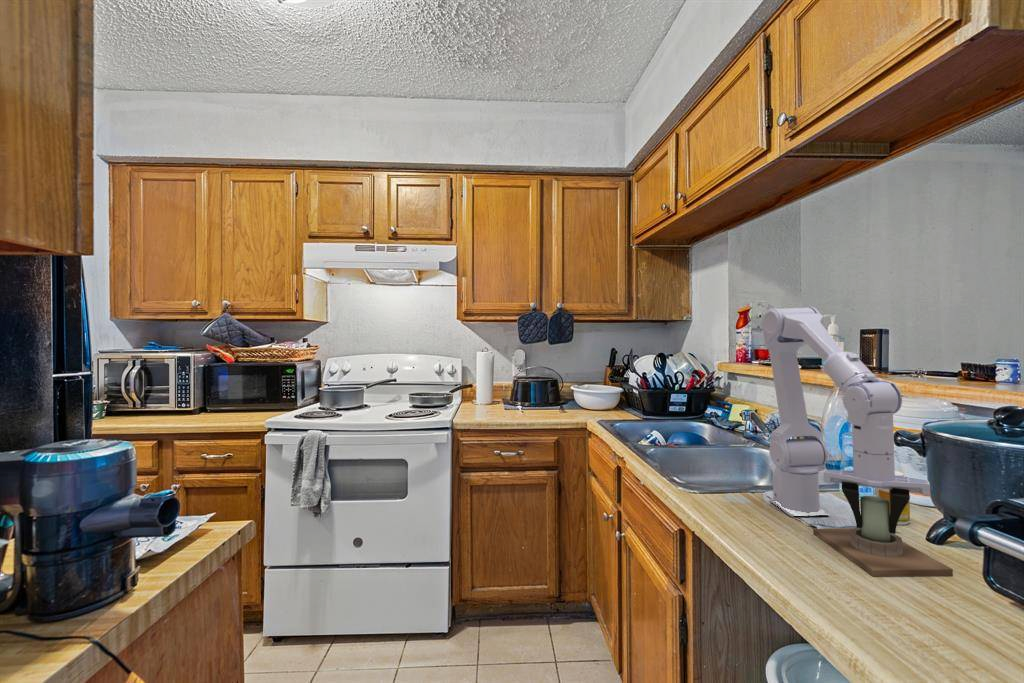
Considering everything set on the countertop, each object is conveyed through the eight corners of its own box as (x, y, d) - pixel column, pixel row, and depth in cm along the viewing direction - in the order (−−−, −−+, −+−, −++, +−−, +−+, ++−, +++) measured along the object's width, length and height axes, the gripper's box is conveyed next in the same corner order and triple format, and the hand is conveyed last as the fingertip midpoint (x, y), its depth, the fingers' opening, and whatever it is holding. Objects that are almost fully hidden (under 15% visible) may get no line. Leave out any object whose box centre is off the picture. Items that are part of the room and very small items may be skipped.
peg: (856, 535, 84) (854, 496, 83) (879, 534, 83) (878, 495, 83) (872, 545, 80) (870, 504, 80) (896, 544, 79) (895, 503, 79)
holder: (813, 533, 90) (813, 518, 90) (878, 532, 89) (877, 517, 89) (873, 576, 74) (872, 557, 74) (952, 575, 73) (952, 556, 73)
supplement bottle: (916, 526, 92) (915, 476, 92) (885, 524, 93) (883, 476, 93) (899, 515, 97) (898, 468, 97) (870, 514, 98) (869, 468, 98)
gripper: (821, 451, 82) (824, 527, 83) (931, 461, 74) (934, 547, 74) (823, 443, 88) (826, 514, 88) (926, 451, 80) (928, 531, 80)
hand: (875, 528), depth 81 cm, fingers closed on peg, 4 cm apart
